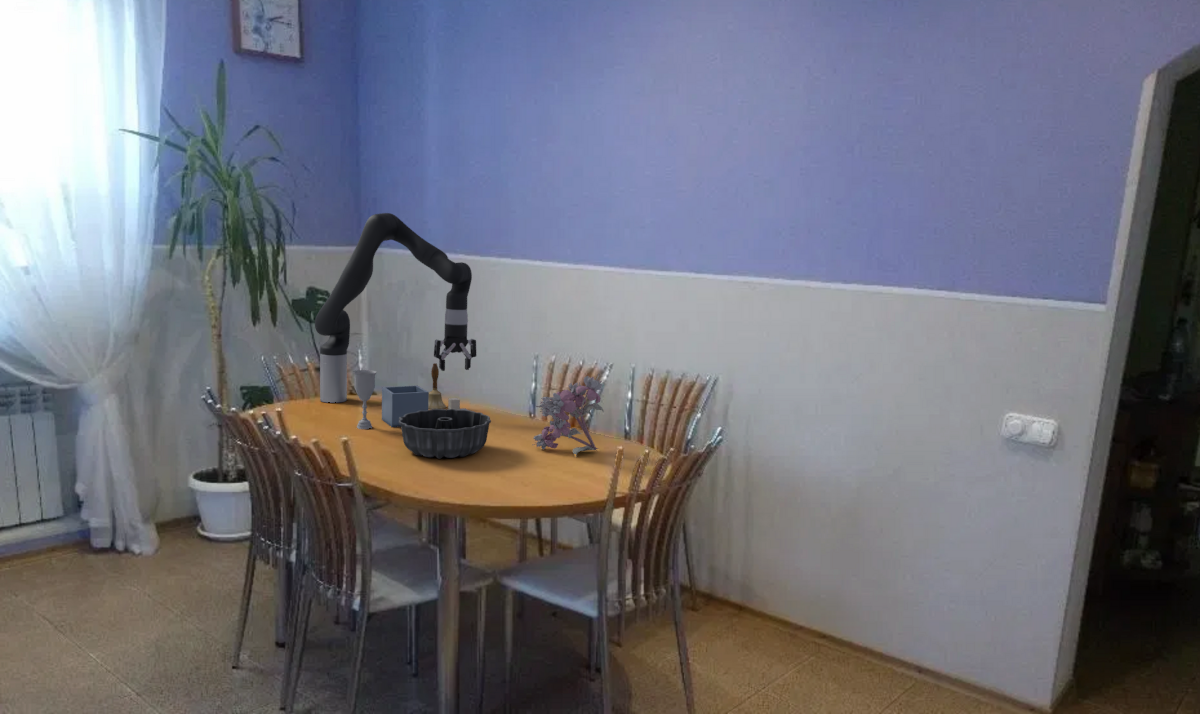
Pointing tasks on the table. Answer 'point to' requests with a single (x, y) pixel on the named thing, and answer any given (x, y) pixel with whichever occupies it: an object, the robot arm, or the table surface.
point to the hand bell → (435, 391)
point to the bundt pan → (444, 432)
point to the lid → (454, 404)
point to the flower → (567, 404)
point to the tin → (402, 402)
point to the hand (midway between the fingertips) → (454, 370)
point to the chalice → (364, 392)
